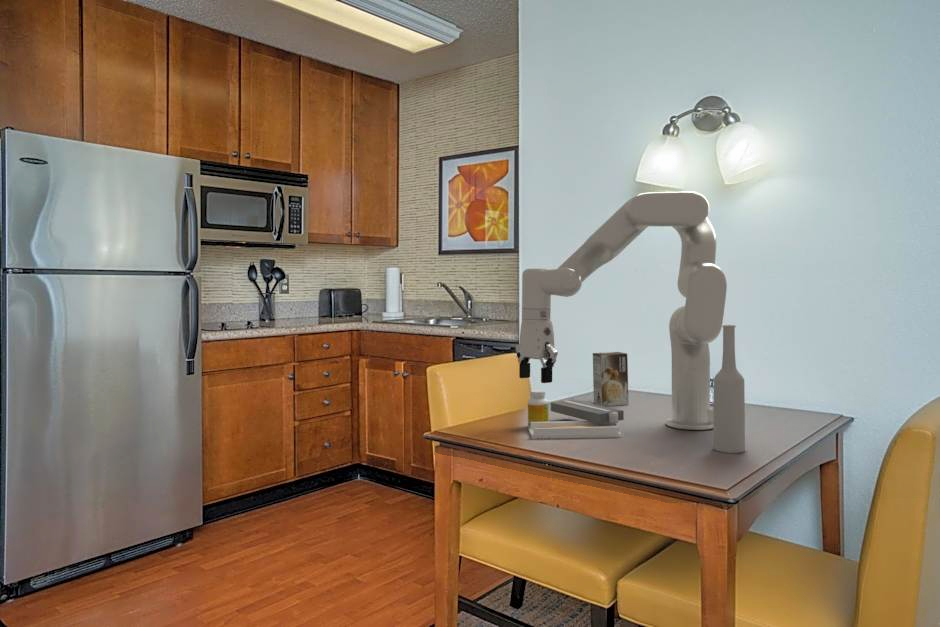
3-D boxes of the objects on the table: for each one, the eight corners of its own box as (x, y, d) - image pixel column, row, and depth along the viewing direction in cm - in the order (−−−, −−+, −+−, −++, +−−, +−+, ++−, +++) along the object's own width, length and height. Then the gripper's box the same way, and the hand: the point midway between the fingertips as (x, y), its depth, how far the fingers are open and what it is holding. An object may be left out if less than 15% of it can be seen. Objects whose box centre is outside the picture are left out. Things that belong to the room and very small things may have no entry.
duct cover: (628, 421, 165) (628, 410, 165) (604, 424, 161) (604, 414, 161) (573, 407, 184) (573, 398, 184) (550, 411, 180) (550, 401, 180)
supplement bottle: (547, 429, 170) (547, 392, 169) (527, 429, 171) (526, 392, 170) (549, 425, 175) (548, 389, 174) (529, 424, 176) (528, 389, 176)
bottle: (732, 444, 151) (732, 324, 149) (751, 451, 144) (751, 325, 143) (707, 447, 149) (707, 325, 148) (725, 454, 143) (725, 326, 141)
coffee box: (619, 401, 208) (619, 351, 207) (629, 405, 201) (628, 353, 201) (592, 403, 205) (592, 352, 205) (601, 407, 199) (601, 354, 199)
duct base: (613, 429, 169) (613, 419, 169) (621, 437, 160) (621, 427, 160) (528, 430, 169) (528, 421, 169) (531, 439, 160) (531, 429, 160)
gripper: (568, 316, 166) (567, 383, 167) (528, 313, 181) (528, 375, 182) (544, 317, 162) (543, 385, 163) (506, 314, 177) (505, 377, 178)
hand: (535, 380), depth 172 cm, fingers open, 9 cm apart
